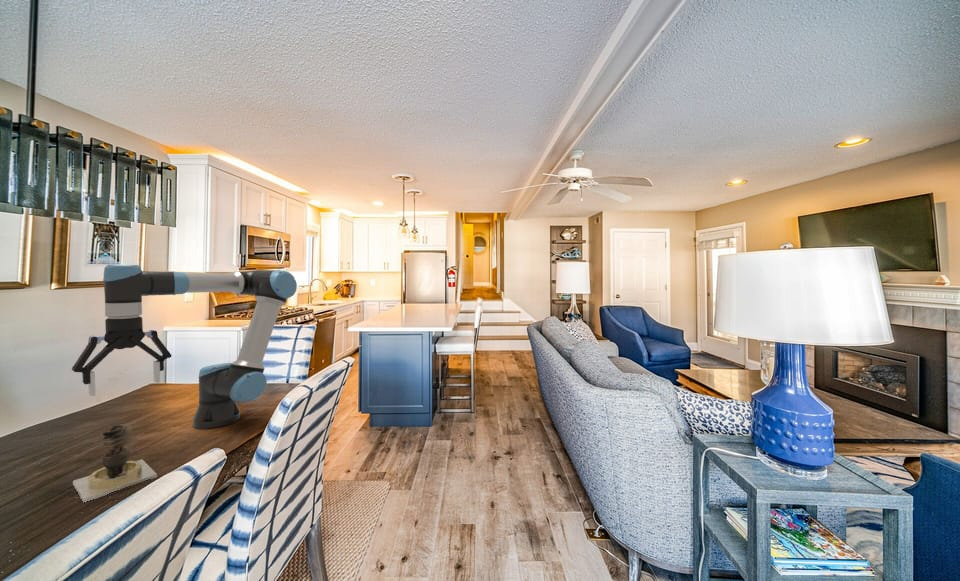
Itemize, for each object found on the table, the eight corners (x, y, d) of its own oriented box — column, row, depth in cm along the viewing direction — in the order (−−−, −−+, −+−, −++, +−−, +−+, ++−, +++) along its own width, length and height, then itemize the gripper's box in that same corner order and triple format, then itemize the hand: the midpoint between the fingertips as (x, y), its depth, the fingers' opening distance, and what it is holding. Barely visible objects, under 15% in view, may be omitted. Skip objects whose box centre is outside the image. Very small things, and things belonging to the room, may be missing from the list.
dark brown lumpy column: (112, 472, 98) (112, 421, 98) (135, 470, 100) (136, 420, 99) (96, 483, 93) (97, 429, 92) (121, 481, 94) (122, 428, 94)
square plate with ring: (142, 462, 106) (142, 453, 106) (156, 477, 98) (156, 467, 98) (72, 484, 94) (72, 473, 94) (83, 503, 86) (83, 491, 86)
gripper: (173, 312, 112) (175, 375, 113) (53, 320, 90) (57, 398, 91) (183, 314, 108) (184, 379, 109) (60, 322, 87) (63, 404, 88)
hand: (126, 388), depth 100 cm, fingers open, 13 cm apart
